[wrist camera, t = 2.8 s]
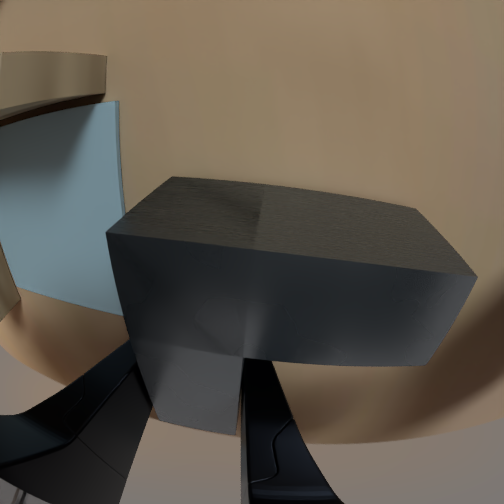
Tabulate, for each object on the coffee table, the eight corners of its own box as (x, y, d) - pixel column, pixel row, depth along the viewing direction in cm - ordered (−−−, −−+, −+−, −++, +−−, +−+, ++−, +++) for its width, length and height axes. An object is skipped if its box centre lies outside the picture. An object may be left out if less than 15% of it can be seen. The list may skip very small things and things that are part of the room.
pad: (118, 100, 7) (115, 100, 6) (143, 316, 11) (141, 320, 11) (-17, 133, 7) (-20, 134, 7) (18, 284, 11) (16, 286, 11)
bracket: (172, 176, 8) (105, 231, 5) (415, 208, 7) (477, 276, 4) (184, 348, 11) (159, 420, 8) (352, 366, 11) (362, 439, 8)
